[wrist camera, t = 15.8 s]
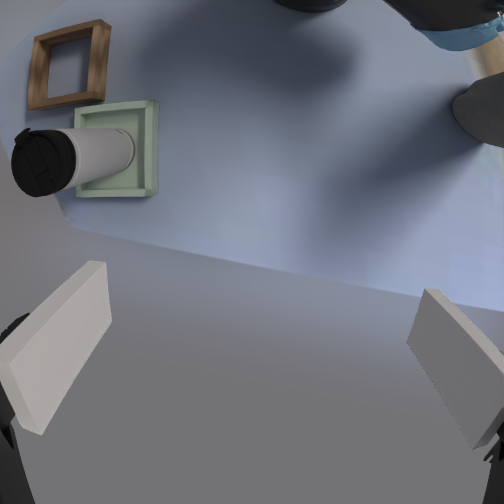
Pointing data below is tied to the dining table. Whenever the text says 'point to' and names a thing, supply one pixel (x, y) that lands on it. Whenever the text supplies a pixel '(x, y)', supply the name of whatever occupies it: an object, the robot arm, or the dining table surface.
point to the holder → (95, 73)
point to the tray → (146, 142)
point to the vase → (483, 110)
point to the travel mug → (68, 157)
